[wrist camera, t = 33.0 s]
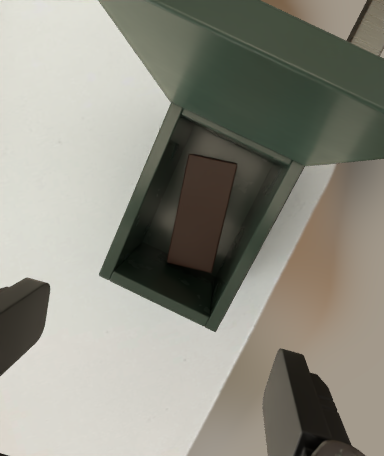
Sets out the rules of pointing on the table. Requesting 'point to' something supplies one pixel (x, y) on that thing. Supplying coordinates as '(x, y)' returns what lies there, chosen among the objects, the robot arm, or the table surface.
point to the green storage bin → (167, 208)
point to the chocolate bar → (201, 212)
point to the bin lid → (266, 73)
